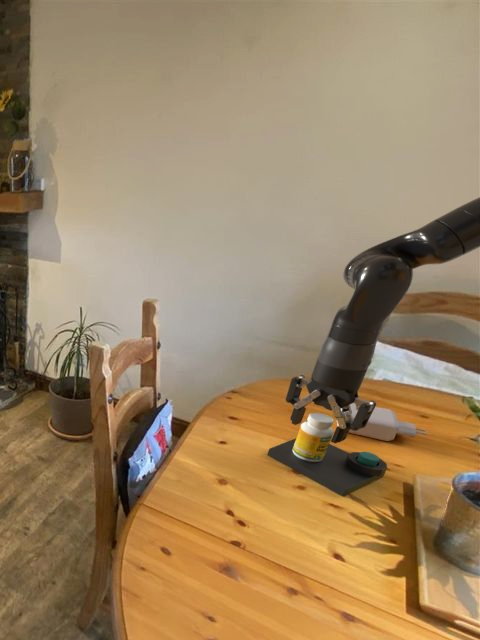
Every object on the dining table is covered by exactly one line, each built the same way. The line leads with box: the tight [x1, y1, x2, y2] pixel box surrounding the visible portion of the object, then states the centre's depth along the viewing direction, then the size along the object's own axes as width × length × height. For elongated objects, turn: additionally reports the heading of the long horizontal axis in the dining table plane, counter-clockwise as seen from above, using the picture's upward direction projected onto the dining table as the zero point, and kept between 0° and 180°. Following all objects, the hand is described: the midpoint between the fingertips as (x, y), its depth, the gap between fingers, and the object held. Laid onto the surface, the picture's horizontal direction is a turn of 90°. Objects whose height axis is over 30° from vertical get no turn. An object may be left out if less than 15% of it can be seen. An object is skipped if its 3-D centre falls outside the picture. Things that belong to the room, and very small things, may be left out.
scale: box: [266, 437, 388, 498], centre depth 88 cm, size 15×13×4 cm
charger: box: [336, 403, 428, 442], centre depth 97 cm, size 5×9×15 cm
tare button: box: [357, 451, 380, 466], centre depth 84 cm, size 3×3×2 cm
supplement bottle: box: [293, 412, 335, 462], centre depth 87 cm, size 5×5×10 cm
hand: (315, 432), depth 87 cm, fingers open, 7 cm apart
